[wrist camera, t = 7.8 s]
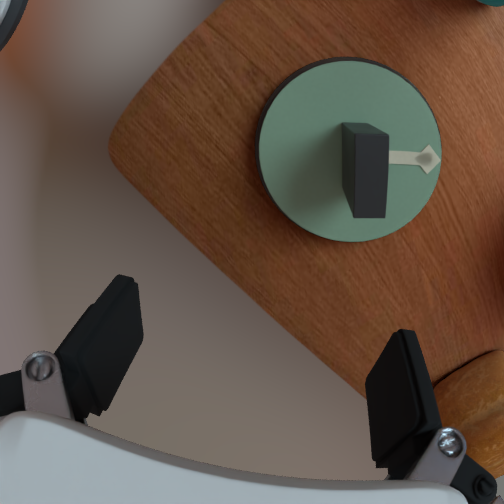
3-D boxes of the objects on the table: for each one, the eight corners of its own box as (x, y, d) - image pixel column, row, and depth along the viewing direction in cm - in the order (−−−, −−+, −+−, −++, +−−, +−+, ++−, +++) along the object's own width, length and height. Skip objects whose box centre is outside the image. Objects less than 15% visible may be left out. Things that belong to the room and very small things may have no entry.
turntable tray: (251, 64, 24) (233, 55, 17) (439, 70, 21) (481, 69, 14) (266, 239, 32) (256, 284, 25) (428, 238, 29) (456, 281, 22)
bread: (503, 336, 35) (543, 425, 20) (516, 398, 42) (537, 462, 28) (421, 385, 42) (439, 479, 27) (456, 432, 49) (468, 497, 34)
